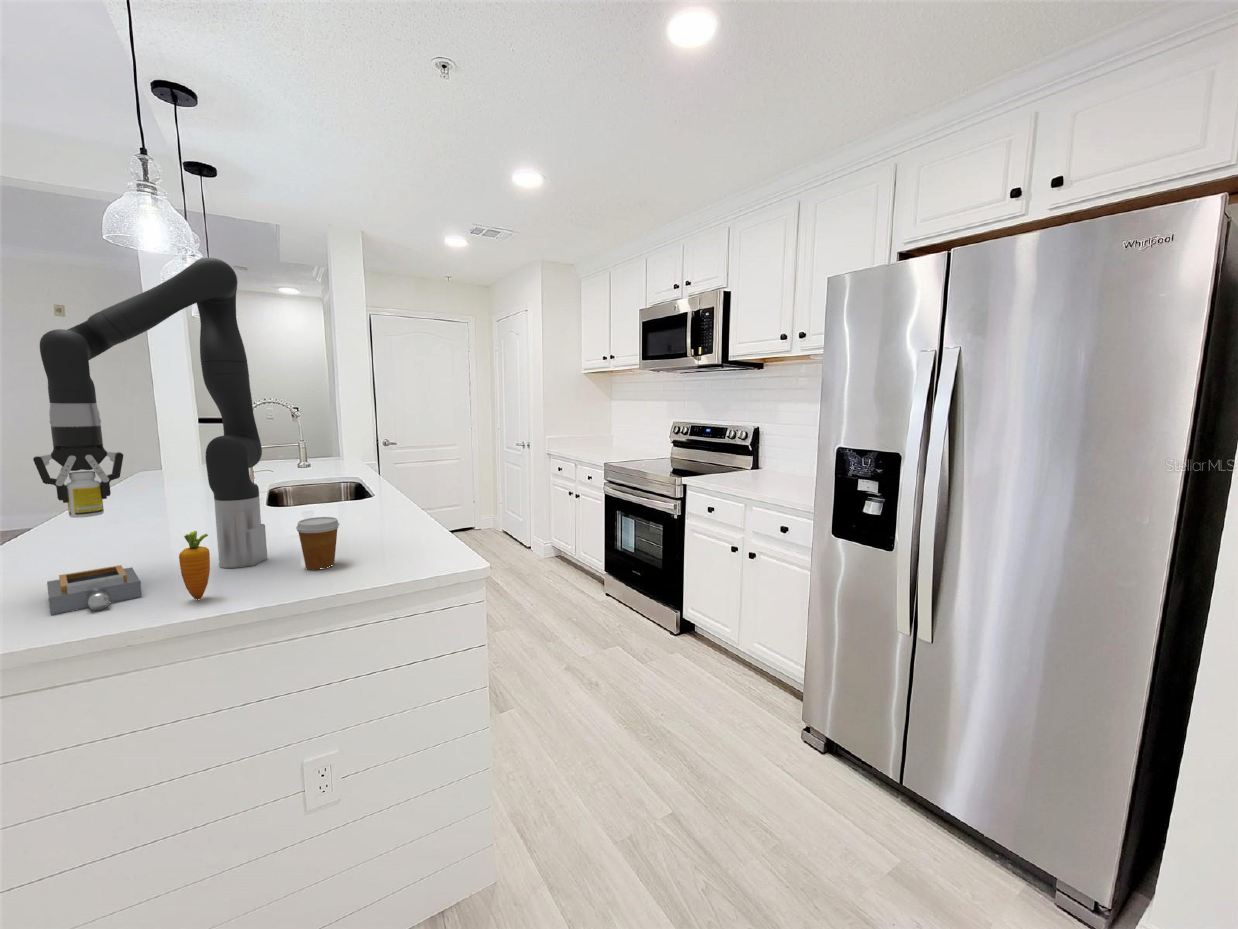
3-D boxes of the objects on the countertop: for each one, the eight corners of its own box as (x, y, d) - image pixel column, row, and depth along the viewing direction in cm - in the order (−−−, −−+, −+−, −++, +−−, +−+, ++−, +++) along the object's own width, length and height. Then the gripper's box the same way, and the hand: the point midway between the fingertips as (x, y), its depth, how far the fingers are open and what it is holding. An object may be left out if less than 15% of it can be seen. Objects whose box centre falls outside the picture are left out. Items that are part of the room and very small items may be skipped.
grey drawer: (133, 582, 117) (131, 561, 116) (144, 602, 106) (142, 578, 105) (48, 597, 107) (46, 574, 106) (51, 621, 96) (48, 596, 95)
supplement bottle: (111, 513, 116) (106, 470, 115) (83, 518, 110) (78, 474, 109) (89, 512, 116) (85, 470, 115) (61, 517, 111) (56, 473, 110)
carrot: (194, 595, 110) (188, 527, 108) (218, 595, 110) (213, 527, 108) (176, 604, 105) (170, 533, 103) (202, 604, 105) (196, 533, 103)
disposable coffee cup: (295, 574, 124) (292, 526, 122) (301, 563, 132) (298, 518, 131) (339, 570, 128) (337, 523, 126) (342, 559, 136) (340, 515, 135)
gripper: (120, 422, 119) (127, 494, 121) (26, 424, 108) (36, 502, 110) (123, 424, 114) (131, 498, 116) (25, 425, 103) (36, 507, 105)
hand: (85, 500), depth 113 cm, fingers closed on supplement bottle, 5 cm apart
